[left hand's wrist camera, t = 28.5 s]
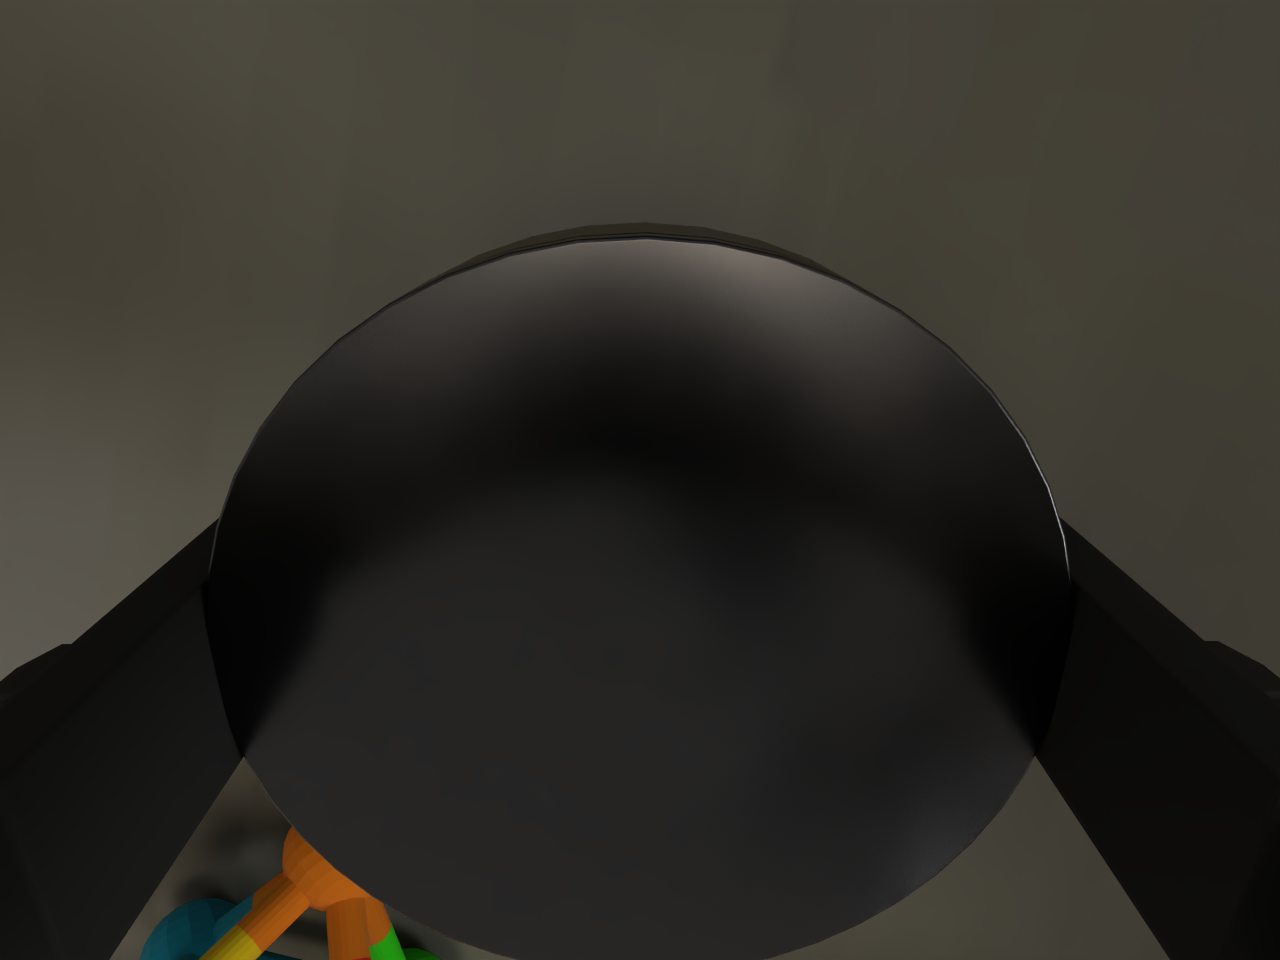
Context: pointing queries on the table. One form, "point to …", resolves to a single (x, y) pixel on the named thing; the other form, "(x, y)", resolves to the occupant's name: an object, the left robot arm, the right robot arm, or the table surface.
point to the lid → (639, 600)
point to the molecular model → (282, 917)
